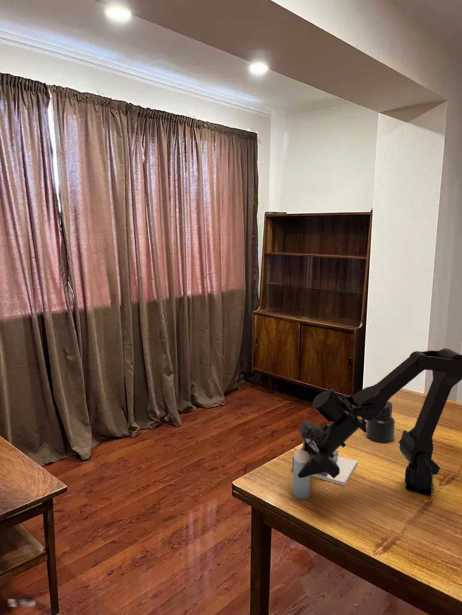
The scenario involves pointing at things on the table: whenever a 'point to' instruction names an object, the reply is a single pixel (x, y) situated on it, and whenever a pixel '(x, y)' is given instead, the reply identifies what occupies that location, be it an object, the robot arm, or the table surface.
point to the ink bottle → (382, 426)
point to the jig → (345, 470)
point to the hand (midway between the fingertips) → (296, 471)
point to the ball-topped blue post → (301, 484)
